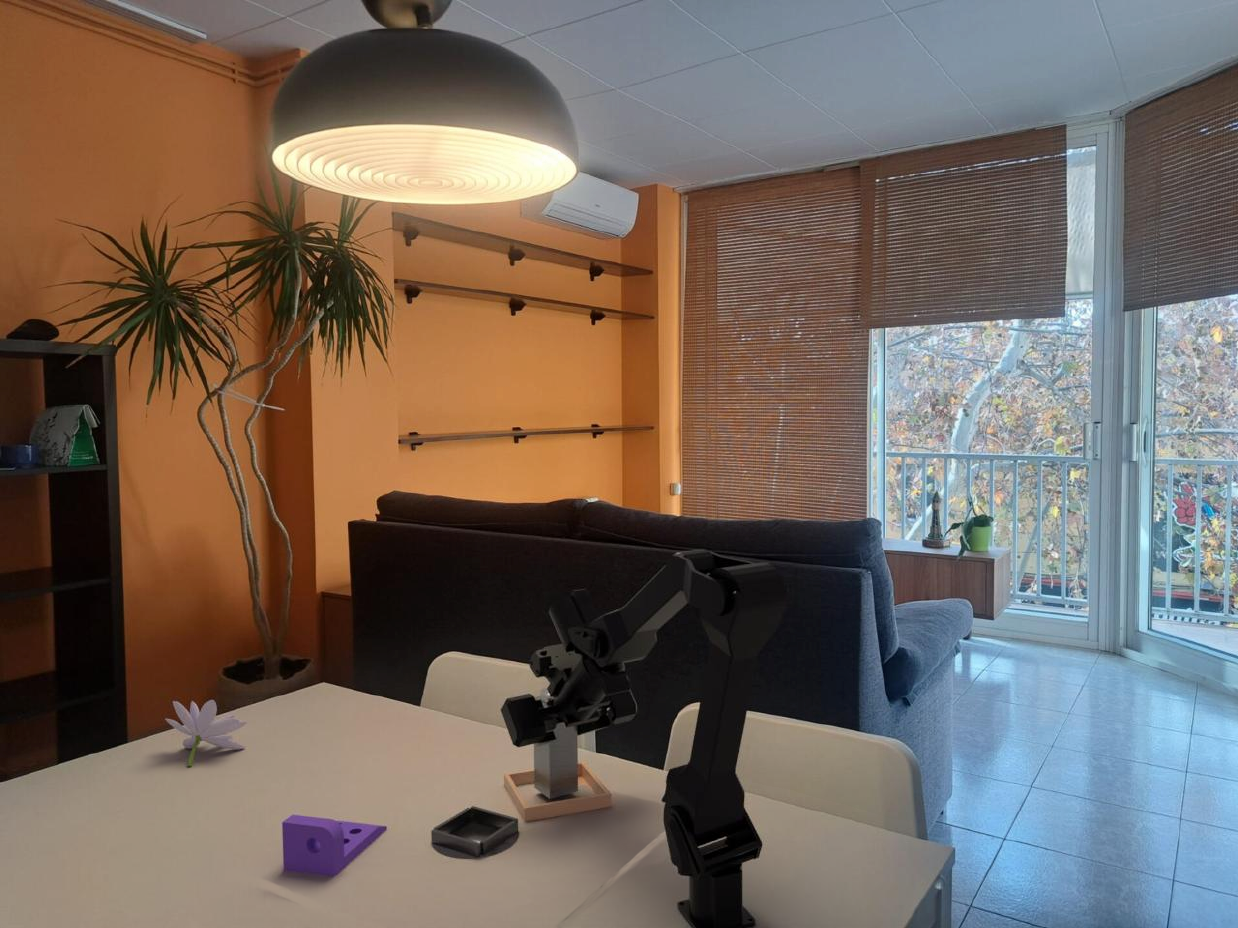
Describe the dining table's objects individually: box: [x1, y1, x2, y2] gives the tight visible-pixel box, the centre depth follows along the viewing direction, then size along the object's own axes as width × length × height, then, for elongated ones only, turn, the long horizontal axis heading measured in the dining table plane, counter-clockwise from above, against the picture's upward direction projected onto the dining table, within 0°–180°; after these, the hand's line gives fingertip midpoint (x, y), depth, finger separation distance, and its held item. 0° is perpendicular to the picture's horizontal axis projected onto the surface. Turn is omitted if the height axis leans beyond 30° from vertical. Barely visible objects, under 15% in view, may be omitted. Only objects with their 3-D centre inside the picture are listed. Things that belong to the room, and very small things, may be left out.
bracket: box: [281, 814, 388, 877], centre depth 109 cm, size 12×7×7 cm, turn 166°
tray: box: [503, 760, 612, 822], centre depth 124 cm, size 12×12×2 cm
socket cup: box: [430, 805, 520, 860], centre depth 112 cm, size 11×11×2 cm
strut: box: [533, 687, 579, 800], centre depth 123 cm, size 4×4×14 cm
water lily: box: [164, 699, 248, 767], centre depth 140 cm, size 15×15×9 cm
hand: (550, 739), depth 124 cm, fingers closed on strut, 4 cm apart
